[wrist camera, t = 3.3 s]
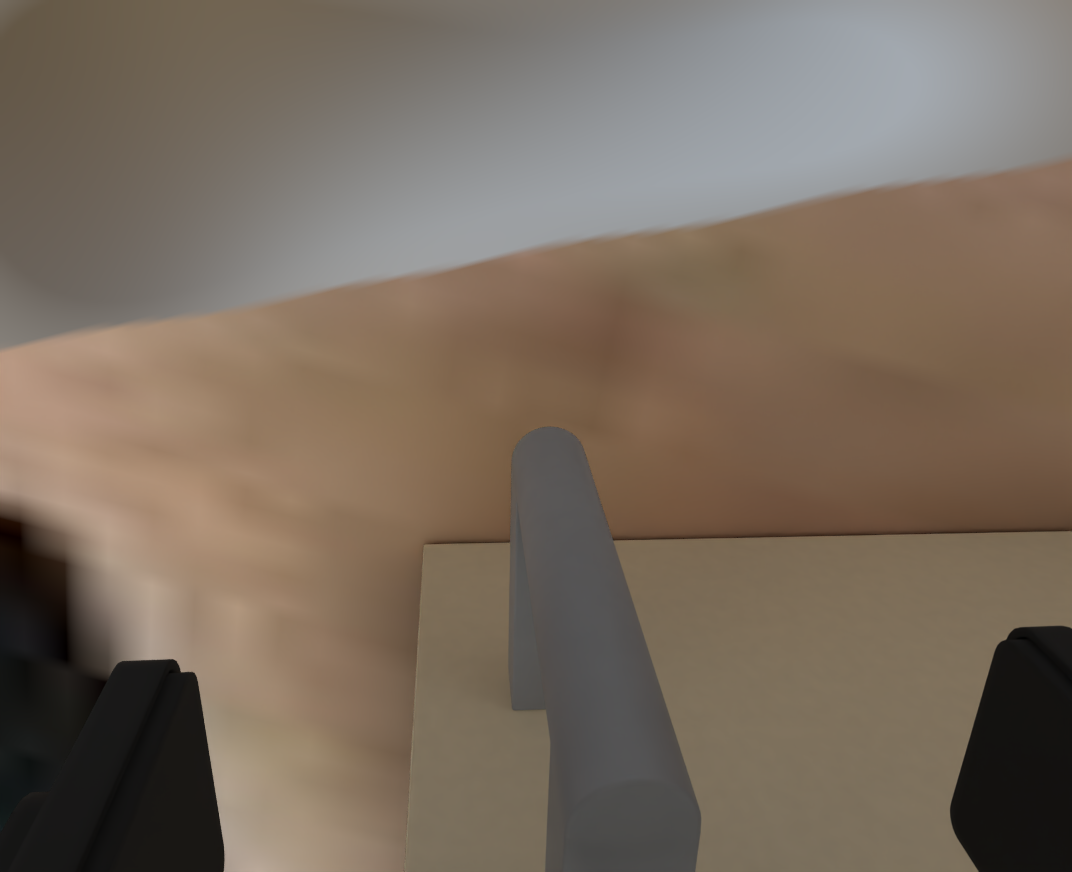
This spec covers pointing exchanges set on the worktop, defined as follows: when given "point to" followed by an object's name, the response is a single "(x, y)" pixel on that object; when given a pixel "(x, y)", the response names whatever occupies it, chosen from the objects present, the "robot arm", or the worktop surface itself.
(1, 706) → the worktop surface
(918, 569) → the cupboard door
